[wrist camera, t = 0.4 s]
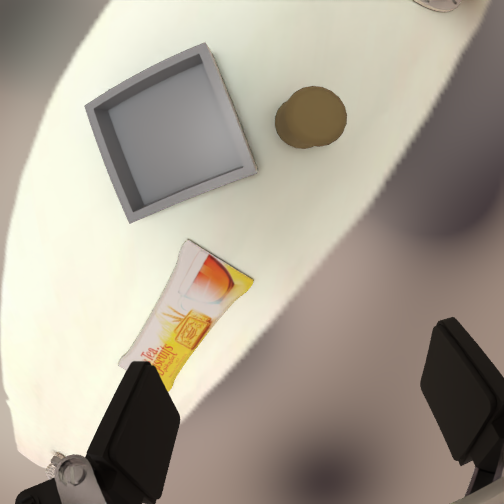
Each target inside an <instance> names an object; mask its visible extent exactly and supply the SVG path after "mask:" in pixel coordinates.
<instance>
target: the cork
mask: <svg viewBox="0 0 504 504" xmlns="http://www.w3.org/2000/svg"><path fill="white" fill-rule="evenodd" d="M346 121H347V113H346V110H345V106H344V104H343V103H342V101H341V100H340V98H339V97H338V96H337V95H336V94H334V93H333V92H332V91H330V90H328V89H325V88H323V87H316V86H310V87H305V88H302V89H300V90H298V91H297V92H295V93H294V94H293V95H292V96H291V97H290V98H289V100H288V101H287V102H285V103H283V105H282V106H281V107H280V108H279V109H278V111H277V114H276V116H275V127H276V130H277V133H278V135H279V136H280V138H281V139H282V140H283V141H284V142H285V143H287V144H288V145H290V146H292V147H295V148H302V149H305V148H310V147H313V146H319V147H320V146H324V145H329V144H330V143H332V142H334V141H336V140H337V139H338V138H339V137H340V135H341V134H342V133H343V131H344V128H345V126H346Z"/></svg>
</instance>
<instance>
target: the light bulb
mask: <svg viewBox="0 0 504 504" xmlns="http://www.w3.org/2000/svg"><path fill="white" fill-rule="evenodd" d="M63 458H64V456H63V455H58V457H57V456H53V458H52V459H51V463H52V464H49V466H48V467H47V469H46V471H45V473H46V476H47V477H48V478H49V479H52V477H53V478H55V476H53V475H54V473H53V472H55V470H54V469H55V467H56V466H57V464H58V463H59V462H60V461H61V460H62V459H63ZM51 465H54V466H55V467H52V466H51ZM48 470H49V471H48ZM52 471H53V472H52ZM52 474H53V475H52Z"/></svg>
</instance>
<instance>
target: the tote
mask: <svg viewBox="0 0 504 504" xmlns="http://www.w3.org/2000/svg"><path fill="white" fill-rule="evenodd" d="M85 109H86V112H87V115H88V119H89V122H90V125H91V127H92V130H93V133H94V136H95V139H96V142H97V145H98V147H99V150H100V153H101V155H102V158H103V161H104V163H105V166H106V169H107V171H108V174H109V176H110V179H111V181H112V184H113V186H114V189H115V191H116V194H117V196H118V198H119V201H120V203H121V205H122V208H123V210H124V212H125V215H126V217H127V219H128V221H129V224H131V223H133V222H135V221H137V220H140V219H142V218H144V217H146V216H149V215H151V214H153V213H156V212H158V211H161V210H163V209H165V208H168V207H170V206H173V205H175V204H177V203H180V202H182V201H185V200H187V199H190V198H192V197H195V196H197V195H200V194H202V193H205V192H208V191H210V190H213V189H216V188H218V187H221V186H223V185H226V184H229V183H232V182H234V181H237V180H240V179H243V178H245V177H248V176H251V175H254V174H257V171H258V169H257V166H256V163H255V161H254V158H253V155H252V152H251V150H250V147H249V145H248V142H247V139H246V137H245V134H244V131H243V129H242V126H241V124H240V121H239V118H238V116H237V113H236V111H235V108H234V106H233V103H232V101H231V98H230V96H229V93H228V91H227V88H226V86H225V83H224V81H223V78H222V76H221V73H220V71H219V68H218V66H217V63H216V61H215V59H214V56H213V54H212V52H211V51H210V49H209V47H208V46H207V44H206V42H205V43H202V44H200V45H197V46H195V47H192V48H190V49H188V50H185V51H183V52H181V53H179V54H176V55H174V56H172V57H170V58H168V59H166V60H163V61H161V62H159V63H157V64H155V65H153V66H151V67H149V68H147V69H146V70H144V71H142V72H140V73H138V74H136V75H134V76H132V77H131V78H129V79H127V80H125V81H124V82H122V83H120V84H118V85H117V86H115V87H113V88H112V89H110V90H108V91H107V92H105V93H104V94H102V95H100V96H99V97H97V98H96V99H94V100H93V101H91V102H90V103H88V104H87V105H85Z"/></svg>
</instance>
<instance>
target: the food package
mask: <svg viewBox="0 0 504 504" xmlns="http://www.w3.org/2000/svg"><path fill="white" fill-rule="evenodd" d="M253 281H254V280H252V279H250V278H249V276H248V277H247V275H245V274H242V273H241V272H238V270H235V268H232V266H229V265H228V264H226V263H225V262H222V260H219V258H216V257H215V256H212V254H209V252H206V250H205V249H204V250H203V249H202V247H199V245H196V244H194V243H192V242H191V241H189V239H188V240H187V241H185V243H184V244H183V246H182V248H181V250H180V253H179V256H178V260H177V263H176V266H175V268H174V270H173V272H172V274H171V276H170V279H169V280H168V282H167V284H166V286H165V288H164V290H163V292H162V294H161V296H160V298H159V300H158V302H157V303H156V305H155V307H154V309H153V310H152V312H151V314H150V316H149V318H148V319H147V321H146V323H145V325H144V327H143V328H142V330H141V332H140V333H139V335H138V337H137V338H136V340H135V342H134V343H133V345H132V346H131V348H130V349H129V351H128V352H127V353H126V354H125V355H124V356H123V357H122V358H121V359H120V361H119V363H118V366H119V367H121V368H123V369H125V370H127V369H128V367H129V365H130V363H131V362H133V361H149V362H150V363H151V365H154V366H155V367H156V369H157V371H158V373H159V375H160V377H161V379H162V381H163V383H164V385H165V387H166V389H167V391H168V392H169V391H170V389H171V388H172V386H173V382H174V380H175V378H176V376H177V375H178V373H179V372H180V370H181V369H182V367H183V366H184V364H185V363H186V361H187V360H188V358H189V357H190V356H191V354H192V353H193V352H194V350H195V349H196V348H197V347H198V345H199V344H200V343H201V341H202V340H203V339H204V337H205V336H206V335H207V333H208V332H209V331H210V330H211V328H212V327H213V326H214V325H215V323H216V322H217V321H218V320H219V319H220V317H221V316H222V315H223V314H224V313H225V312H226V310H227V309H228V308H229V307H230V306H231V305H232V304H233V303H234V301H236V300H237V299H238V298H239V297H240V296H242V295H243V294H244V293H246V292H247V291H248V290H249V288H250V287H251V286H252V284H253Z"/></svg>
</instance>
